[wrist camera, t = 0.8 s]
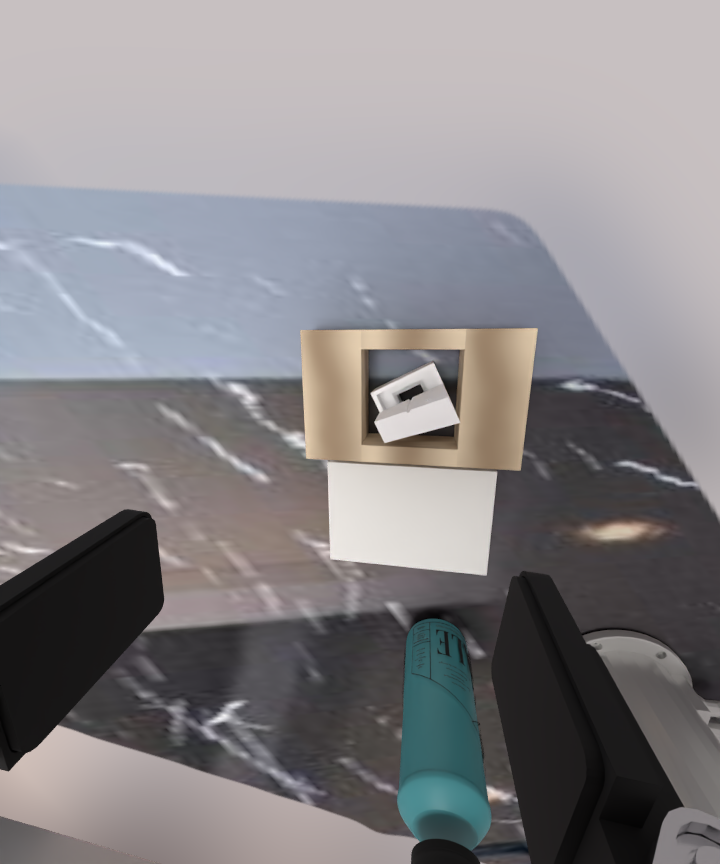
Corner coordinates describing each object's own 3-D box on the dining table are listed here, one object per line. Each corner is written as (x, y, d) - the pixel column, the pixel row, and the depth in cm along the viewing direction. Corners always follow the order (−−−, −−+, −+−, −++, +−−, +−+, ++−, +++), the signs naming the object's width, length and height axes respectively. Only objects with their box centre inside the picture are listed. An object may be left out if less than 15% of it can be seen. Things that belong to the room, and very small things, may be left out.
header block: (523, 329, 29) (537, 328, 25) (509, 454, 32) (520, 470, 28) (314, 331, 32) (300, 330, 29) (319, 445, 35) (306, 458, 31)
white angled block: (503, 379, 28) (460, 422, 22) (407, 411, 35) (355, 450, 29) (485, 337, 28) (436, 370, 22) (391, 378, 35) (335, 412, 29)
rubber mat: (496, 469, 33) (497, 471, 32) (485, 571, 36) (486, 575, 35) (329, 460, 35) (327, 462, 35) (331, 555, 38) (330, 558, 38)
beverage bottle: (401, 646, 40) (380, 930, 21) (411, 598, 38) (397, 861, 19) (460, 661, 39) (494, 971, 20) (472, 612, 37) (523, 903, 18)
